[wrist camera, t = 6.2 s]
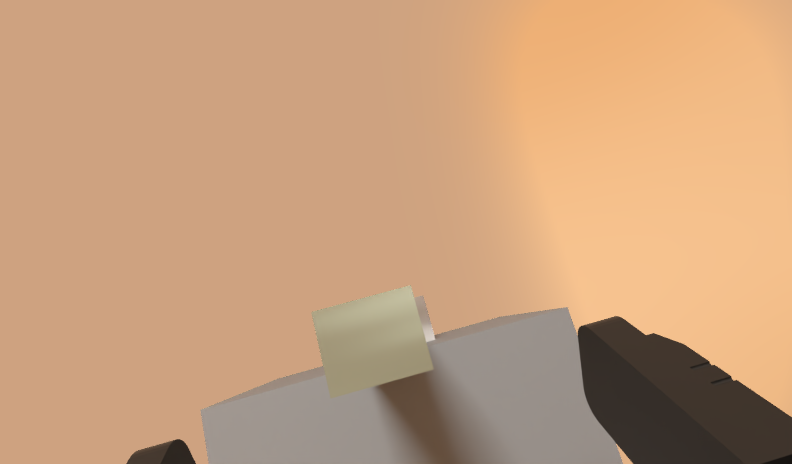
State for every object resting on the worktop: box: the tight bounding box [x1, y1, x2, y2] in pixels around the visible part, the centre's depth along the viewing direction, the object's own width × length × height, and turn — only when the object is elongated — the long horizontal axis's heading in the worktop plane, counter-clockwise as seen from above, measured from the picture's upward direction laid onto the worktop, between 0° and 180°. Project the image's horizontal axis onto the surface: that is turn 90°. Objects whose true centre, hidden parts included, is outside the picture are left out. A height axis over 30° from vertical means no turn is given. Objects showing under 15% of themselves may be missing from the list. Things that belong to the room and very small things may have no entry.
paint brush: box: [312, 286, 435, 399], centre depth 19 cm, size 21×5×2 cm, turn 1°
